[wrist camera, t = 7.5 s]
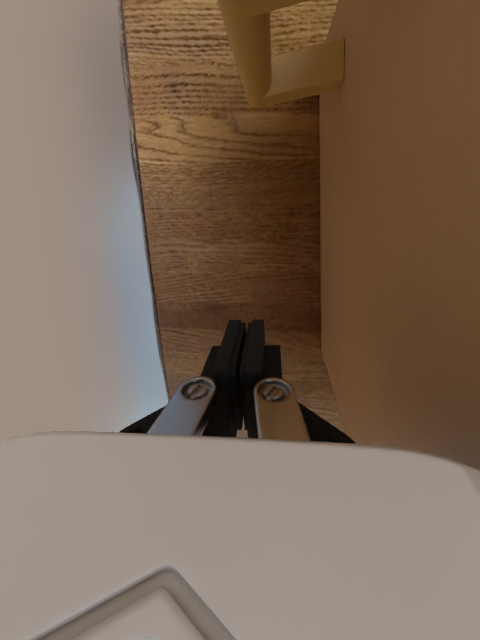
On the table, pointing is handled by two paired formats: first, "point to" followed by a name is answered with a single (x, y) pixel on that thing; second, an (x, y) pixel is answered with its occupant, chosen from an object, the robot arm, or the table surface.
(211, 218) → the table surface
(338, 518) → the robot arm
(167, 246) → the table surface
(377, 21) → the cupboard door
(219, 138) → the table surface
